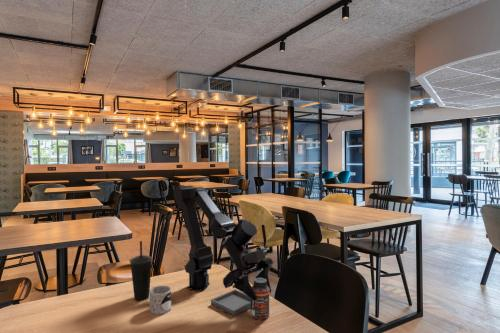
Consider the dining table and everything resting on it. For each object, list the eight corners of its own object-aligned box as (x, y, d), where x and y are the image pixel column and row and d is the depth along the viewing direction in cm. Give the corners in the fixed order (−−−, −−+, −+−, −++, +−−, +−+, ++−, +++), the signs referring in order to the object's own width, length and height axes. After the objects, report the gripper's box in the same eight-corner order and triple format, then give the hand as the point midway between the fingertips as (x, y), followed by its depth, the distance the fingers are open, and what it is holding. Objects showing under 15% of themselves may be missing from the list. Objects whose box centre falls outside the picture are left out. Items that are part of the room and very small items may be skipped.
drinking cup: (156, 293, 115) (155, 238, 114) (147, 303, 107) (146, 244, 106) (136, 292, 116) (135, 238, 115) (126, 302, 108) (125, 244, 107)
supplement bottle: (253, 321, 95) (253, 284, 95) (248, 312, 101) (248, 277, 100) (272, 319, 97) (272, 282, 96) (266, 309, 102) (266, 275, 102)
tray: (210, 304, 106) (210, 299, 106) (235, 294, 114) (235, 289, 114) (234, 316, 98) (234, 311, 98) (258, 304, 106) (258, 298, 106)
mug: (165, 316, 99) (165, 295, 99) (145, 314, 100) (145, 293, 100) (178, 301, 109) (178, 282, 108) (160, 299, 110) (160, 280, 110)
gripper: (228, 245, 94) (256, 293, 87) (269, 233, 107) (296, 274, 100) (212, 265, 100) (236, 311, 92) (252, 251, 113) (276, 291, 106)
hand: (263, 296), depth 98 cm, fingers open, 6 cm apart
